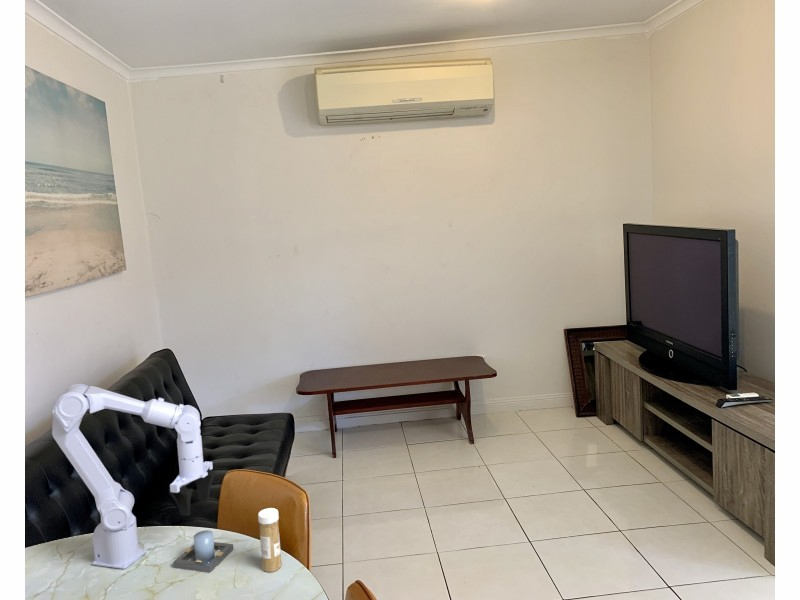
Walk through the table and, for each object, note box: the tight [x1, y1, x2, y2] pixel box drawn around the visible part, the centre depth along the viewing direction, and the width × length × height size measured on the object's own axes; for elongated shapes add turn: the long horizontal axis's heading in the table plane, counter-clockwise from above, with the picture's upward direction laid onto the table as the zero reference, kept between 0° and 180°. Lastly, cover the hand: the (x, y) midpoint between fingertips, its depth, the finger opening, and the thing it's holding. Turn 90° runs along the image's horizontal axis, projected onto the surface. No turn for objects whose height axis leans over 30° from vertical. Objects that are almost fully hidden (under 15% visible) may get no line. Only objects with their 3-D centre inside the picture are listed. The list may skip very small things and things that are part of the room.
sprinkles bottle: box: [257, 507, 283, 573], centre depth 130 cm, size 5×5×14 cm
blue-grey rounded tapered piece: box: [193, 529, 216, 563], centre depth 135 cm, size 6×4×6 cm
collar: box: [172, 541, 235, 573], centre depth 135 cm, size 10×10×2 cm
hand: (194, 507), depth 142 cm, fingers open, 7 cm apart
